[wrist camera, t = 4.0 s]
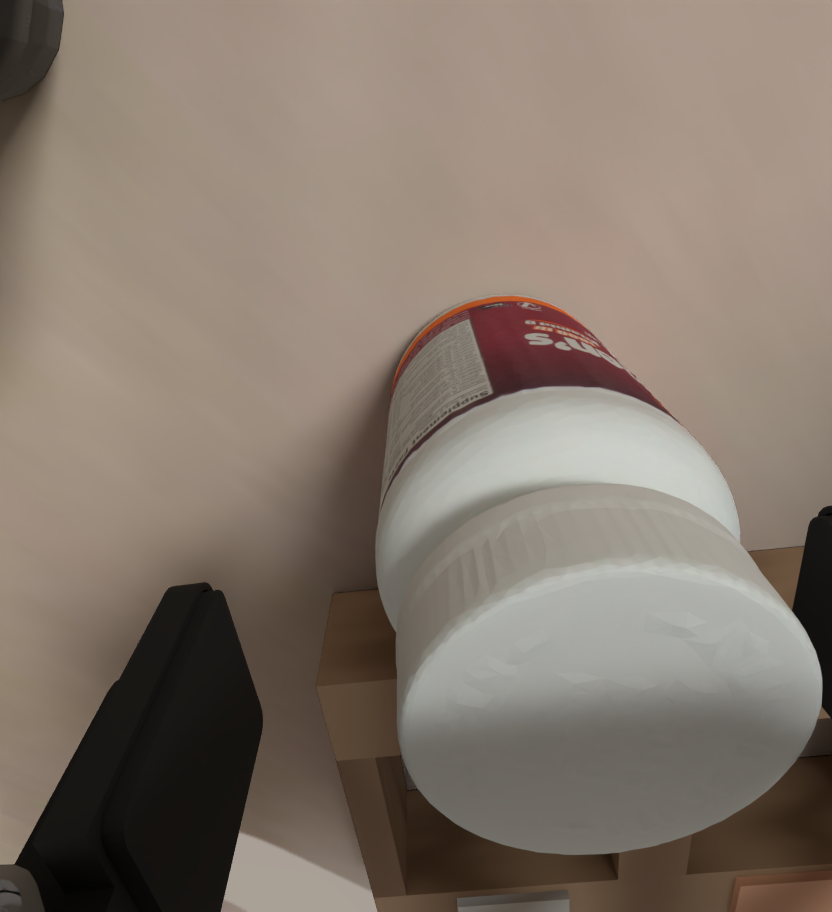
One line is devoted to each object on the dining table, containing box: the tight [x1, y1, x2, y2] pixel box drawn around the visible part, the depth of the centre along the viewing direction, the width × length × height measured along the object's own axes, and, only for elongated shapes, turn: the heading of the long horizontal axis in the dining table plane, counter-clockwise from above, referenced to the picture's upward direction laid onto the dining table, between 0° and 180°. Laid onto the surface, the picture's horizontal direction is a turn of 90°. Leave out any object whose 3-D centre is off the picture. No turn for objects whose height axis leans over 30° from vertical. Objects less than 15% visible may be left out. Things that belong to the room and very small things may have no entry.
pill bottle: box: [375, 294, 822, 855], centre depth 12 cm, size 6×6×11 cm
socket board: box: [316, 546, 832, 912], centre depth 21 cm, size 20×14×4 cm
